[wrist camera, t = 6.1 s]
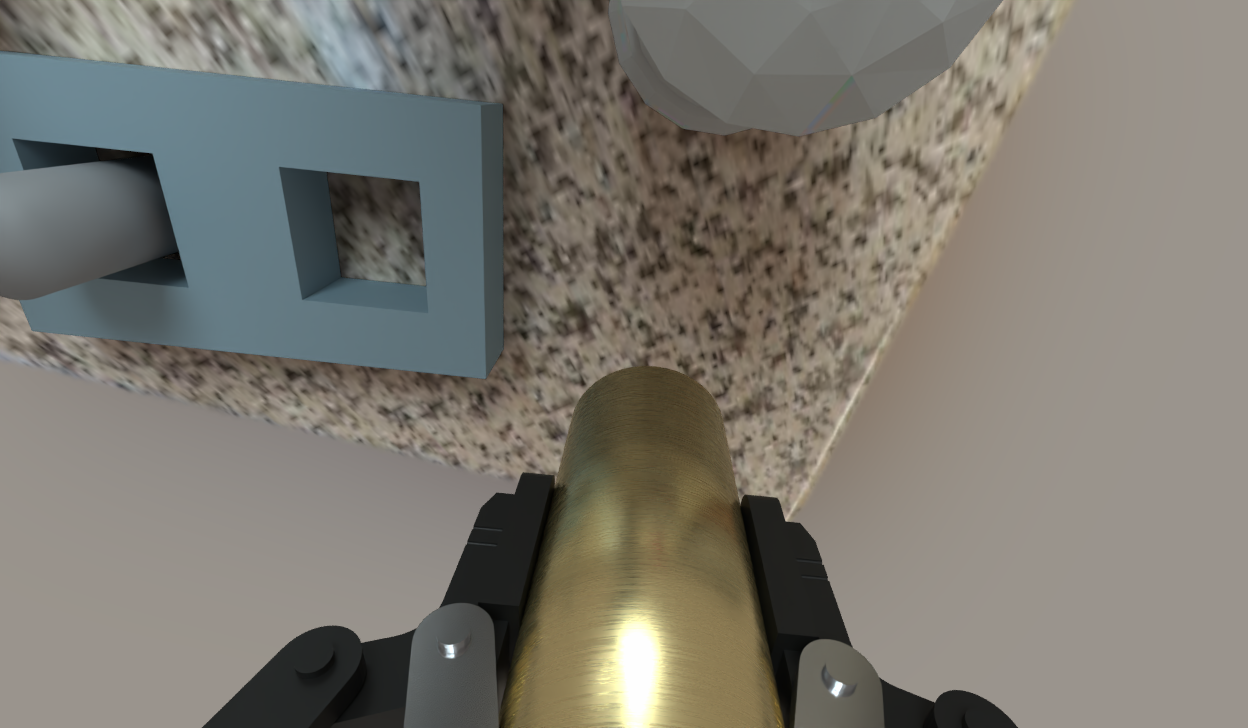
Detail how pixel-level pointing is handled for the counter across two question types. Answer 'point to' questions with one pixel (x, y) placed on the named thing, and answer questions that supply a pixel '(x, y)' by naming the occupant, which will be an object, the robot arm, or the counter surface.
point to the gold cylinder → (643, 574)
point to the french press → (787, 57)
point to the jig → (243, 214)
